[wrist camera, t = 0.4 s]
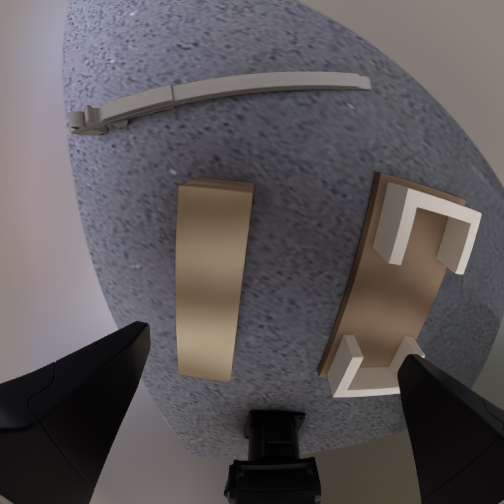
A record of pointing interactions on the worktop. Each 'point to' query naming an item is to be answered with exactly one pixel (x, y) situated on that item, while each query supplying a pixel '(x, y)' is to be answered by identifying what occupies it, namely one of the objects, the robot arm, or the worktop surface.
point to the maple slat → (210, 273)
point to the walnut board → (390, 283)
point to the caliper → (205, 96)
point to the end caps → (392, 250)
